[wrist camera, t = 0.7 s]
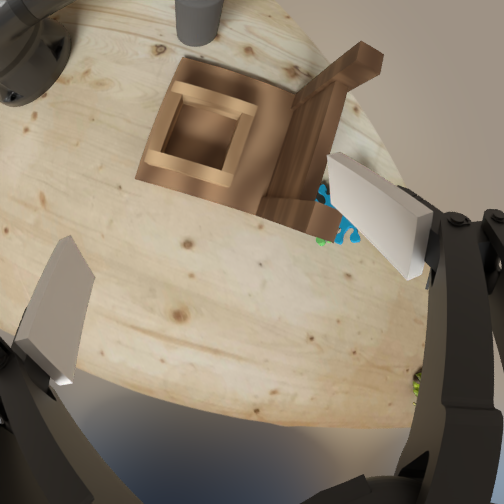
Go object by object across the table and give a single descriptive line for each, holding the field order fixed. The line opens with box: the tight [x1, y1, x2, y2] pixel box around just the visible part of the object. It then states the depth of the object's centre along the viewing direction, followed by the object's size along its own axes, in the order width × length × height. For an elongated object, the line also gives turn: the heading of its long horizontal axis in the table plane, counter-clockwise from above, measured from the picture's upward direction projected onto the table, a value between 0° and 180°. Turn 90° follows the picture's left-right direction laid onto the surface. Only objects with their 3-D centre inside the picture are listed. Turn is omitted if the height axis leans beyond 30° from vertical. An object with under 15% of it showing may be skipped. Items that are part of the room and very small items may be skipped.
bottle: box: [175, 0, 224, 47], centre depth 26 cm, size 6×6×15 cm
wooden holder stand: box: [135, 41, 384, 243], centre depth 28 cm, size 19×18×19 cm
